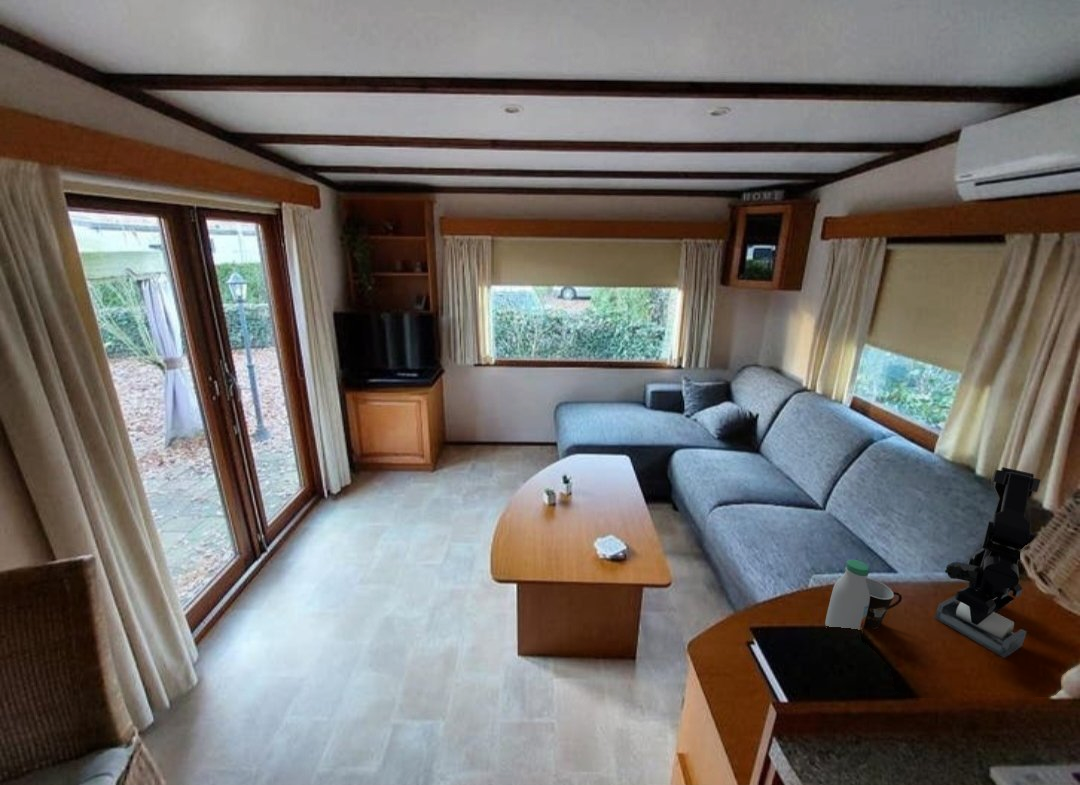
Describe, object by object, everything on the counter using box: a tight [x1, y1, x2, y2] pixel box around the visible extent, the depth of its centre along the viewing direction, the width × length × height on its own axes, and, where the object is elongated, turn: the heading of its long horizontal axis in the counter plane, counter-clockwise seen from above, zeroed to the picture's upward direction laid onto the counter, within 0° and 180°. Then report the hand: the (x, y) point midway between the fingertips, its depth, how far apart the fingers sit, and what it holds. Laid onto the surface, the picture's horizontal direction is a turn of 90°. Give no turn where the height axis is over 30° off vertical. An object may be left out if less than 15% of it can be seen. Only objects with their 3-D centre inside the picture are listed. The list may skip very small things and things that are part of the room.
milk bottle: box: [824, 559, 870, 632], centre depth 109 cm, size 8×8×20 cm
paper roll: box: [956, 601, 1015, 641], centre depth 111 cm, size 9×6×6 cm, turn 24°
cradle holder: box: [934, 594, 1028, 659], centre depth 112 cm, size 9×14×4 cm, turn 24°
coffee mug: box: [864, 577, 903, 629], centre depth 114 cm, size 12×9×10 cm
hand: (980, 620), depth 112 cm, fingers closed on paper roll, 5 cm apart
